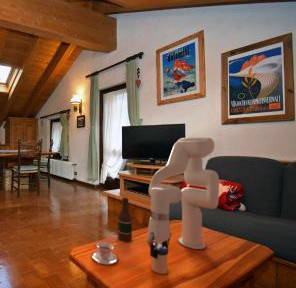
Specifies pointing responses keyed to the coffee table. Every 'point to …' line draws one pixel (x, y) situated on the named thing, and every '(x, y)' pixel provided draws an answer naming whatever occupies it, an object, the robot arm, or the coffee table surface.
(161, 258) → the jar
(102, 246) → the teacup
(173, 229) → the coffee table surface
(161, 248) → the jar lid
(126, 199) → the beer bottle
